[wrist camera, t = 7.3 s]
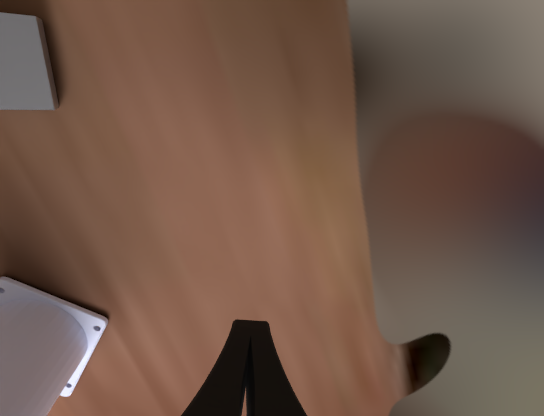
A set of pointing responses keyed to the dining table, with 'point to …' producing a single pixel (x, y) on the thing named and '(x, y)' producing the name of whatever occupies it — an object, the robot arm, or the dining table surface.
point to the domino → (25, 65)
